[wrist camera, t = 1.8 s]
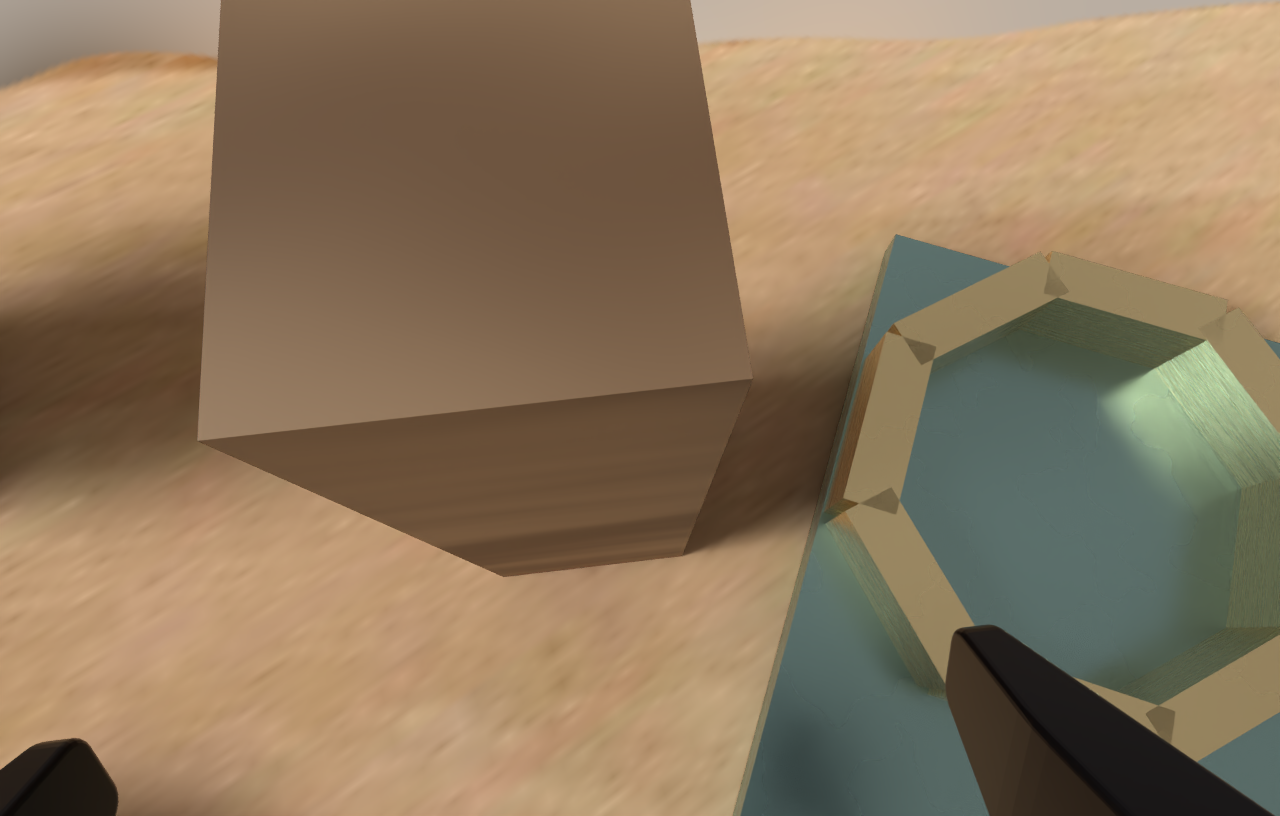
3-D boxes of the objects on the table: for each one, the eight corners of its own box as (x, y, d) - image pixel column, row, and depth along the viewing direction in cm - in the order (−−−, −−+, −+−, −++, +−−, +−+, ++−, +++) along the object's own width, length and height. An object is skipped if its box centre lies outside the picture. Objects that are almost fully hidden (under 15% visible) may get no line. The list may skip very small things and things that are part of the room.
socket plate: (1396, 1201, 16) (1562, 1325, 13) (701, 934, 17) (711, 991, 15) (1431, 408, 21) (1557, 370, 18) (884, 251, 22) (920, 194, 19)
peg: (681, 556, 20) (752, 377, 6) (503, 576, 20) (197, 440, 6) (660, 387, 21) (681, -52, 8) (492, 406, 21) (221, -6, 8)
